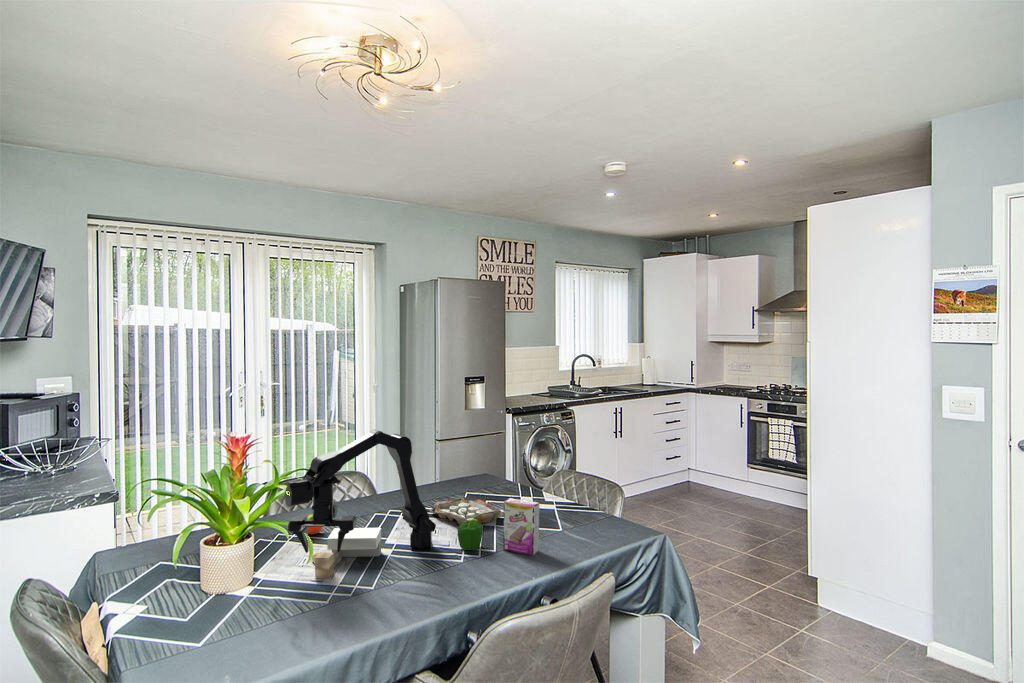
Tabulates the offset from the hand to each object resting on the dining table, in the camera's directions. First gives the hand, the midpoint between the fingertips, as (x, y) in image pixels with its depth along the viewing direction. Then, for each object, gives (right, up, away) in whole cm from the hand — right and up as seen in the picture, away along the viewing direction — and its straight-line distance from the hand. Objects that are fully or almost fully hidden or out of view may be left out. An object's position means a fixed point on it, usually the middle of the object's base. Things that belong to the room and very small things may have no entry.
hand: (323, 551), depth 168 cm
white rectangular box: (+6, -7, +13) cm, 16 cm away
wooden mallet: (+1, -7, +6) cm, 9 cm away
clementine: (-15, -6, +33) cm, 37 cm away
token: (-4, -7, +11) cm, 14 cm away
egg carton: (+37, -7, +53) cm, 66 cm away
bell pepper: (+42, -7, +22) cm, 48 cm away
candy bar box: (+59, -7, +20) cm, 63 cm away
